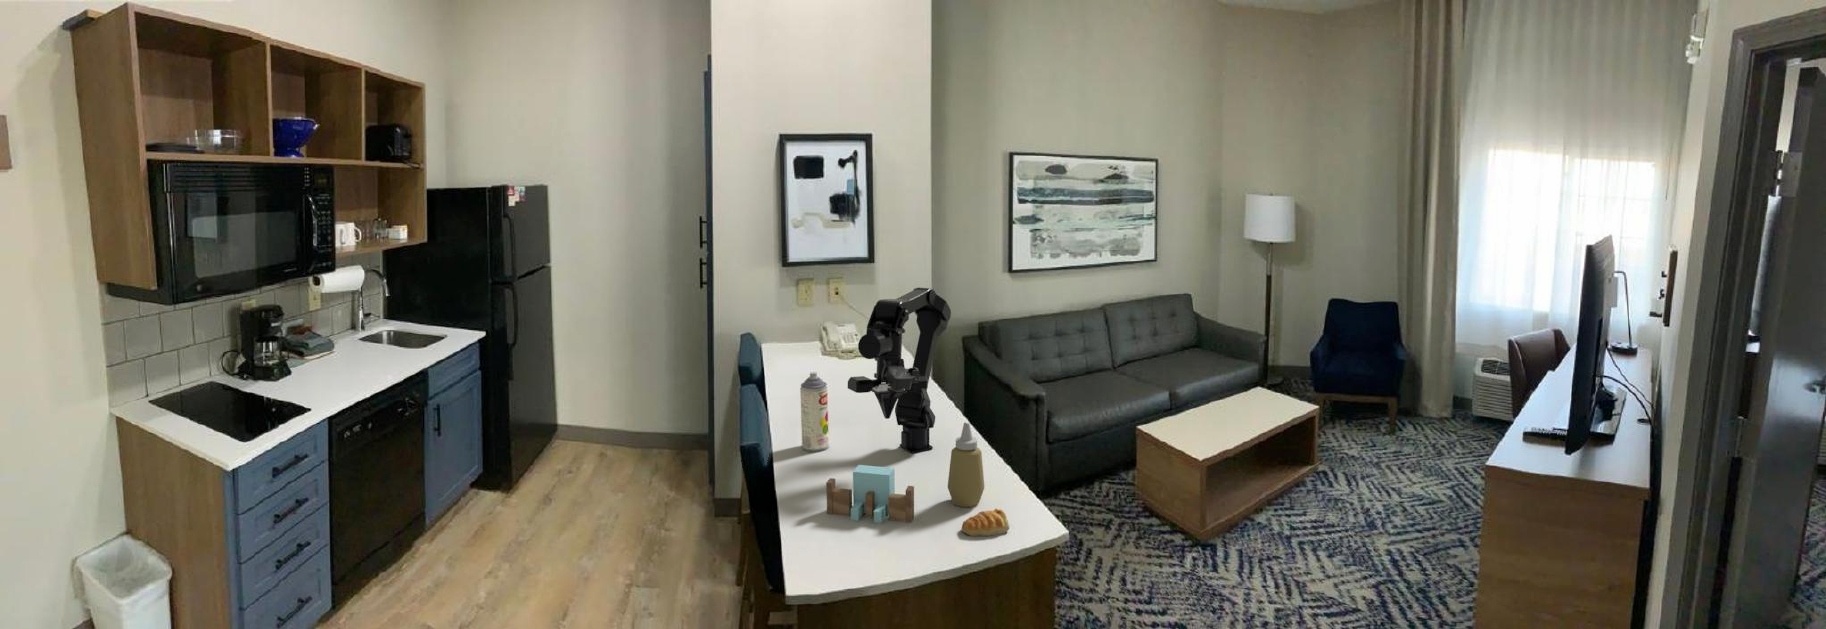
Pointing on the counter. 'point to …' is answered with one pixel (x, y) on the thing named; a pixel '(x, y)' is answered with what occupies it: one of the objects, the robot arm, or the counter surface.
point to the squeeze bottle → (966, 470)
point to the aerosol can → (814, 414)
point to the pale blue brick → (875, 481)
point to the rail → (870, 502)
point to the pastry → (986, 523)
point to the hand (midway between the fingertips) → (887, 418)
